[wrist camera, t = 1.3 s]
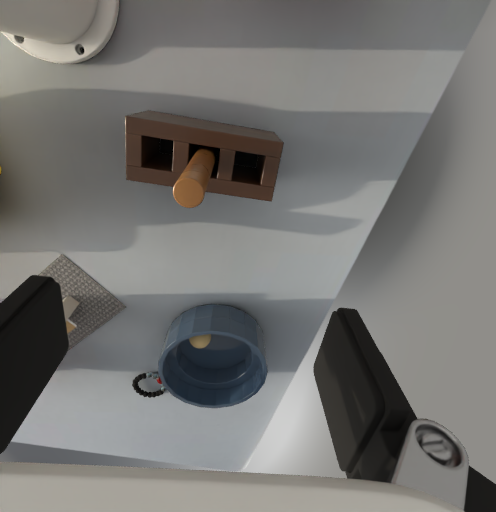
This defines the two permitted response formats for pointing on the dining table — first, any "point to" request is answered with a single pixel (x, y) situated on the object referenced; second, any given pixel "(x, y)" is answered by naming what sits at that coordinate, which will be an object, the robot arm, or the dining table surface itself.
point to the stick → (195, 177)
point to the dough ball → (200, 341)
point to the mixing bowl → (214, 357)
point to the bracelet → (145, 394)
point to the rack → (186, 144)
